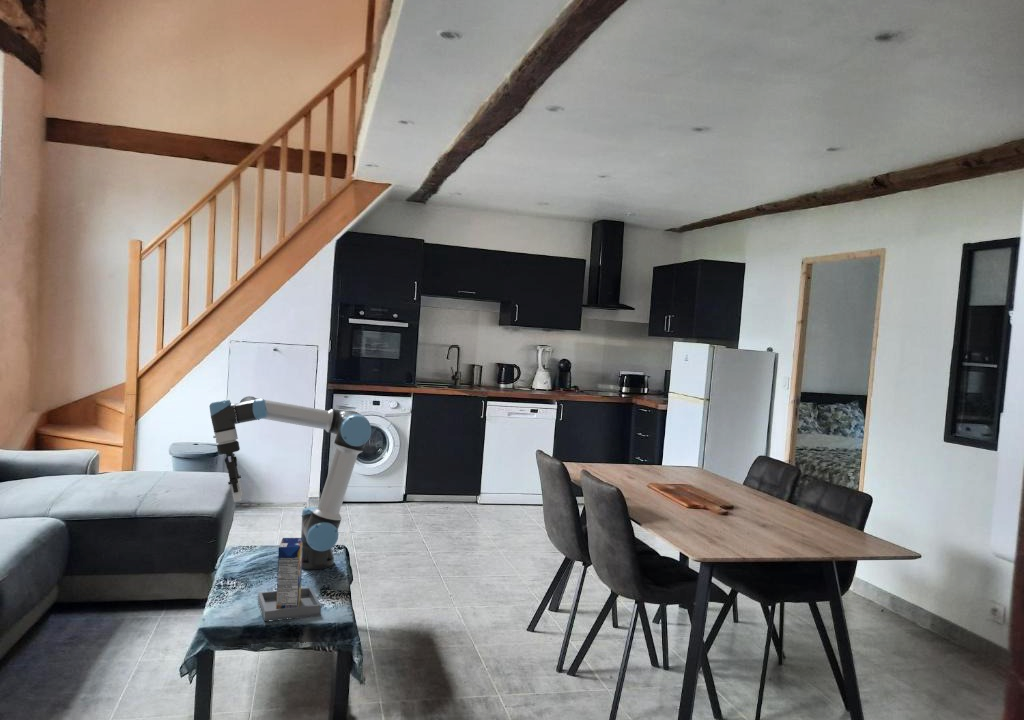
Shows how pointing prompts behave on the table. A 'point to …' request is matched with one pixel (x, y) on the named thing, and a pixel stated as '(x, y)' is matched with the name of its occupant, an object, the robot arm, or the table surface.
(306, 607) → the tray
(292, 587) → the beverage box
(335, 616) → the table surface
